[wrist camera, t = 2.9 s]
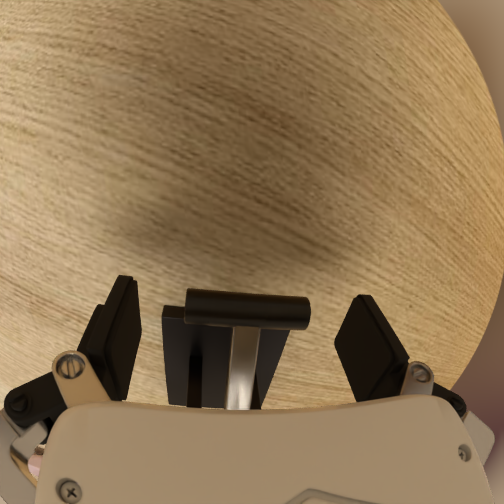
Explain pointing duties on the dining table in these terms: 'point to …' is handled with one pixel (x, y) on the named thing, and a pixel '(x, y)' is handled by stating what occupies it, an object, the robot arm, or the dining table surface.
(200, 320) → the lever
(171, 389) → the bracket
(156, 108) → the dining table surface
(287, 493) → the robot arm
